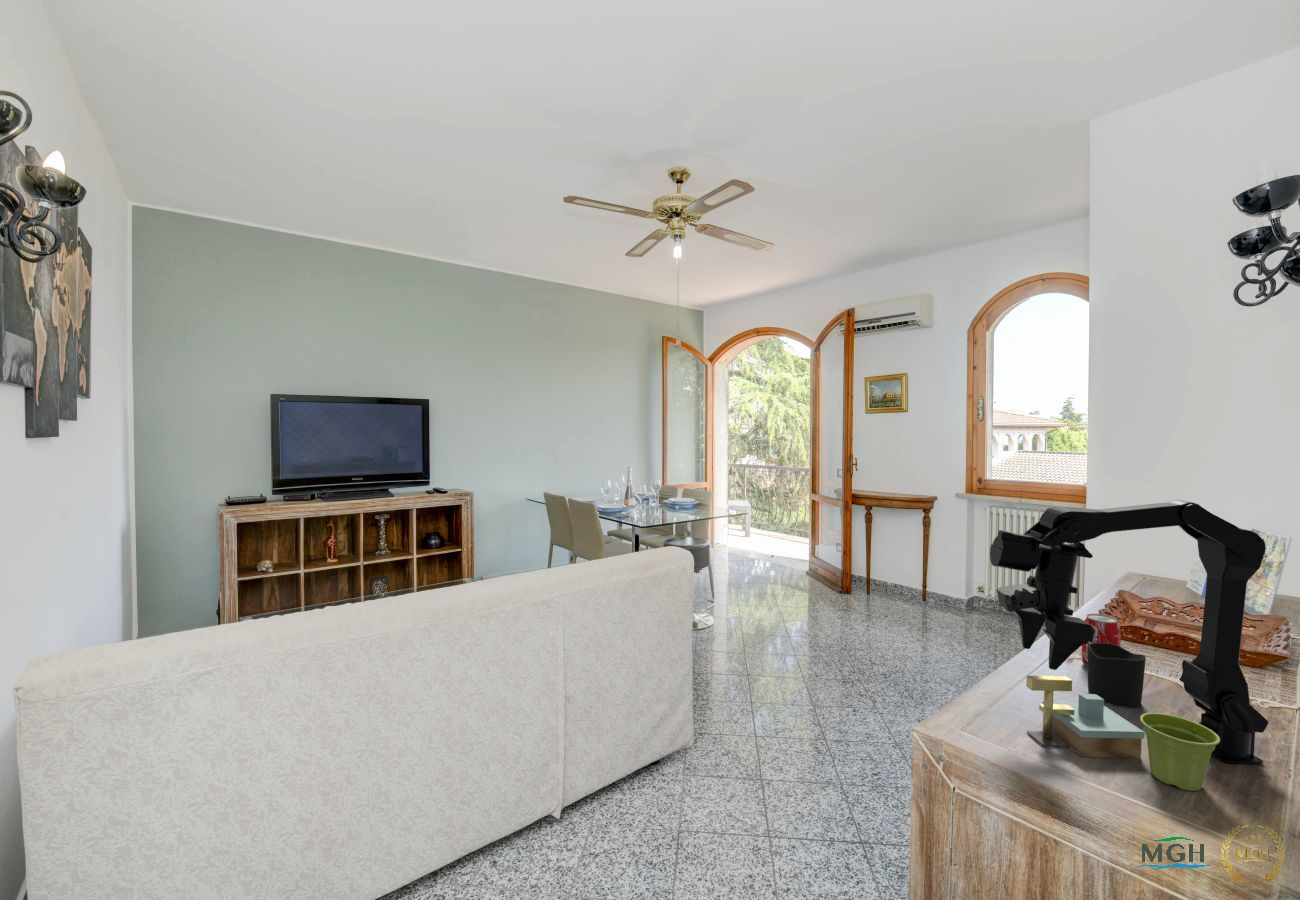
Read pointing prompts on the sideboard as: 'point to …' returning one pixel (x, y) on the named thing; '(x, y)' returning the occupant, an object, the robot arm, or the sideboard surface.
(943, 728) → the sideboard surface
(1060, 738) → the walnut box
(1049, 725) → the key
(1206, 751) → the plant pot
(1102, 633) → the soda can
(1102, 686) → the pen holder
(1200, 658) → the robot arm
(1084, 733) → the lid
